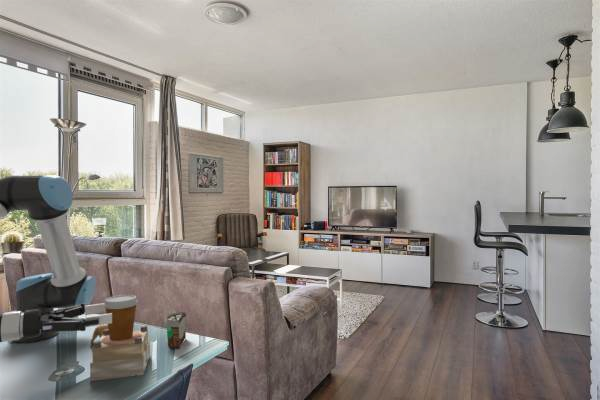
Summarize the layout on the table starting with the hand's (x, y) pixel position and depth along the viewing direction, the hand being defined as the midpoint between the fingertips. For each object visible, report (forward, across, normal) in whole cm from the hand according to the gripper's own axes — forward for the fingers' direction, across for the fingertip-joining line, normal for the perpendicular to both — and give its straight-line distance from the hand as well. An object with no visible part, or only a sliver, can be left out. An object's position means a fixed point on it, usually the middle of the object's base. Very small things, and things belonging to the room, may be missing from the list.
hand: (110, 312), depth 112 cm
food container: (+21, -12, -18) cm, 30 cm away
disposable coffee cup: (+3, 0, -8) cm, 9 cm away
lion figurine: (+1, -28, -18) cm, 33 cm away
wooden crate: (+3, 0, -17) cm, 18 cm away
